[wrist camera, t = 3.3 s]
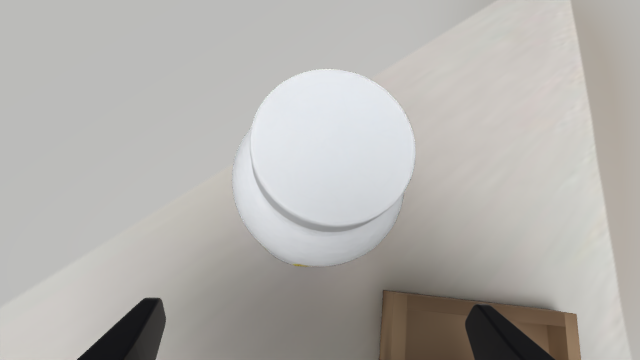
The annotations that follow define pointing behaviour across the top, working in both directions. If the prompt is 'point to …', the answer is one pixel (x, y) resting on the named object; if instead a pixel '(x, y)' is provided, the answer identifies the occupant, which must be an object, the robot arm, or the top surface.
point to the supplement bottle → (324, 168)
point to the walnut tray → (449, 328)
